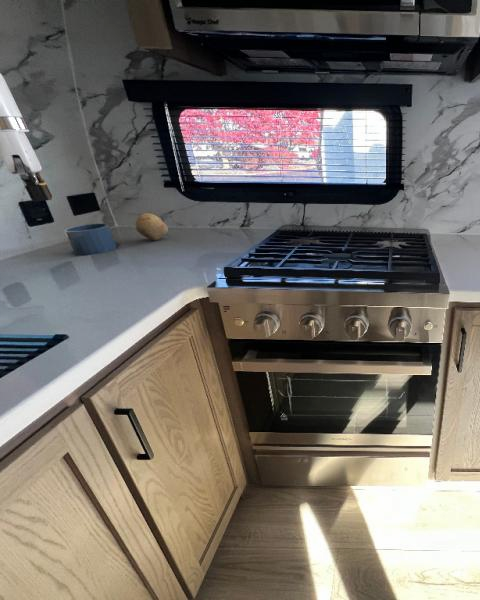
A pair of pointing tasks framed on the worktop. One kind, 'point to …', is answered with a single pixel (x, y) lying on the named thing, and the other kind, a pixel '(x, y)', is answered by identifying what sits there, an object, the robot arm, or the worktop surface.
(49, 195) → the coffee pod
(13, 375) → the worktop surface
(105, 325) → the worktop surface
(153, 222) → the potato
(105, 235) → the canister
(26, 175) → the robot arm
